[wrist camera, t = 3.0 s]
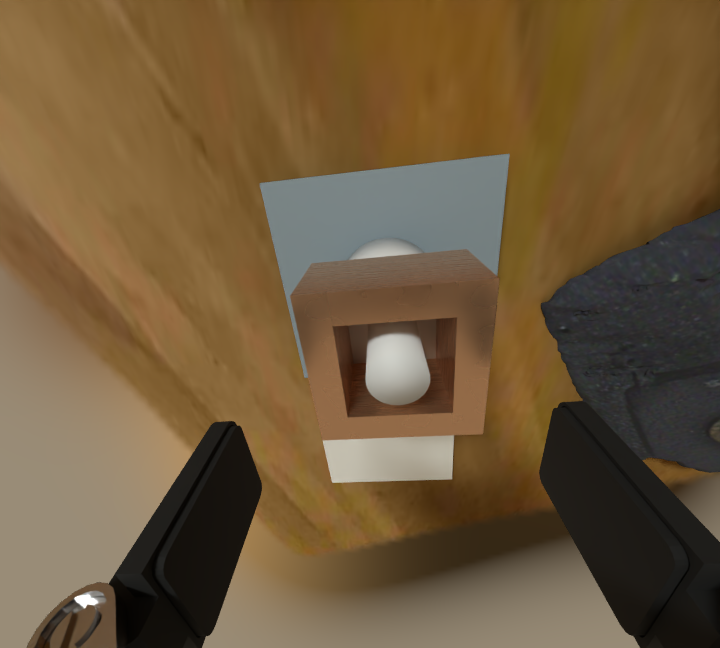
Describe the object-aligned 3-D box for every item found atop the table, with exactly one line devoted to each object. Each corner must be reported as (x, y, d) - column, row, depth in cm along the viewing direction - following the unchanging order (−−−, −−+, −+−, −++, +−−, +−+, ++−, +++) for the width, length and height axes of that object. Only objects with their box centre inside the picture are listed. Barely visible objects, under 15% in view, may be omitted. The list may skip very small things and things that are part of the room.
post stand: (499, 154, 18) (667, 138, 8) (481, 355, 24) (559, 494, 14) (267, 182, 19) (142, 200, 9) (308, 366, 25) (263, 501, 15)
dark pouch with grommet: (779, 151, 17) (908, 145, 13) (808, 397, 25) (895, 444, 21) (521, 294, 22) (556, 324, 18) (612, 466, 30) (651, 515, 26)
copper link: (466, 249, 13) (499, 278, 10) (460, 376, 17) (482, 434, 13) (311, 263, 14) (289, 295, 10) (333, 384, 17) (322, 440, 14)
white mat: (454, 377, 25) (456, 382, 25) (450, 473, 31) (451, 479, 30) (312, 385, 26) (311, 390, 26) (332, 477, 32) (332, 482, 31)
